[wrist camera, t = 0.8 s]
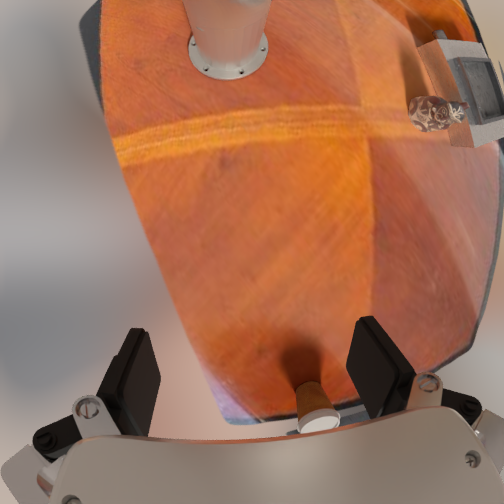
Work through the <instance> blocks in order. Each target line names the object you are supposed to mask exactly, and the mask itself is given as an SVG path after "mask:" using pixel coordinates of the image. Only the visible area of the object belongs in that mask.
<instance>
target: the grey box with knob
mask: <svg viewBox="0 0 504 504" xmlns="http://www.w3.org/2000/svg"><path fill="white" fill-rule="evenodd" d="M432 34H433V36H434V38H435V40H433V41H431V42H429V43H426V44H424V45H422V46H420V47H417V50H418V52H419V54H420V56H421V58H422V60H423V63H424V65H425V67H426V69H427V72H428V74H429V77H430V79H431V82H432V84H433V87H434V89H435V92H436V95H437V96H438V97H441V98H443V99H445V100H446V101H447V102H450V101H458V102H459V103H463V102H467V103H468V105H469V108H467V109H465V110H464V112H465V117H464V119H463V120H462V122H461V123H452V124H451V125H450V127H448V128H447V129H448V133H449V136H450V140H451V144H452V146H455V147H470V148H476V147H478V146H481V145H484V144H486V143H489V142H492V141H494V140H497V139H500V138H502V137H504V95H503V92H502V89H501V86H500V83H499V80H498V77H497V75H496V72H495V69H494V67H493V64H492V62H491V59H490V58H488V57H487V55H486V53H485V50H484V48H483V46H482V44H481V43H476V42H468V41H458V40H448V39H447V37H446V35H445V33H444V31H443V30H436V31H433V32H432Z"/></svg>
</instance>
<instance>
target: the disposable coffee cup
mask: <svg viewBox="0 0 504 504" xmlns="http://www.w3.org/2000/svg"><path fill="white" fill-rule="evenodd" d="M296 401H297V412H298V425H297V430H298V431H299V432H300V433H301V434H303V433H310V432H316V431H322V430H327V429H332V428H337V427H338V425H339V423H340V414H339V413H338V412H337V411H336V410H335V409H334V407H333V406H332V404H331V402H330V400H329V399H328V397H327V395H326V393H325V392H324V390H323V388H322V387H321V385H320V383H318V382H315V381H310V382H306V383H303V384H302V385H300V386H299V387H298V388H297V389H296Z"/></svg>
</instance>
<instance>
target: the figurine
mask: <svg viewBox="0 0 504 504" xmlns="http://www.w3.org/2000/svg"><path fill="white" fill-rule="evenodd" d="M467 108H469V105H468V103H467V102H463V103H459V102H458V101H450V102H447V101H446V100H445V99H443V98H441V97H438V96H418V97H415V98H413V99H412V100H411V101H410V104H409V111H408V116H409V118H410V120H411V123H412V124H413V125H414V126H415V127H416V128H417V129H419V130H420V131H421V132H432V131H437V130H444V129H447V128H448V127H450V125H451V124H452V123H461V122H462V120H463V119H464V117H465V112H464V110H465V109H467Z"/></svg>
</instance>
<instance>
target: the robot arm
mask: <svg viewBox="0 0 504 504" xmlns="http://www.w3.org/2000/svg"><path fill="white" fill-rule="evenodd" d="M182 1H183V4H184V7H185V10H186V13H187V16H188V19H189V23H190V26H191V29H192V32H193V35H192V37H191V39H190V42H189V47H188V50H189V56H190V59H191V61H192V63H193V65H194V66H195V67H196V69H197V70H198V71H200V72H201V73H202V74H204V75H206V76H208V77H210V78H213V79H218V80H236V79H240V78H243V77H246V76H248V75H250V74H252V73H253V72H255V71H256V70H258V68H259V67H260V66H261V65H262V64H263V62H264V61H265V59H266V56H267V53H268V41H267V37H266V35H265V34H264V32H263V30H264V27H265V23H266V20H267V16H268V13H269V9H270V5H271V2H272V0H182ZM193 45H195V46H193ZM261 50H264V51H261ZM206 69H207V70H208V71H205V70H206ZM241 72H242V73H243V74H240V73H241ZM346 368H347V371H348V373H349V375H350V377H351V379H352V381H353V383H354V385H355V387H356V389H357V392H358V394H359V396H360V398H361V400H362V402H363V404H364V406H365V408H366V410H367V412H368V414H369V416H370V419H371V420H367V421H363V422H359V423H355V424H351V425H346V426H342V427H337V428H332V429H327V430H322V431H316V432H310V433H303V434H296V435H289V436H280V437H271V438H259V439H242V440H186V439H168V438H155V437H148V433H149V428H150V424H151V420H152V415H153V411H154V406H155V402H156V398H157V394H158V390H159V386H160V381H161V376H160V372H159V368H158V366H157V362H156V358H155V355H154V351H153V348H152V344H151V340H150V337H149V333H148V332H145V330H144V329H143V328H131V329H130V331H129V333H128V335H127V337H126V339H125V341H124V343H123V345H122V347H121V349H120V351H119V353H118V355H116V356H114V358H113V360H112V362H111V364H110V366H109V368H108V370H107V372H106V374H105V376H104V379H103V381H102V383H101V385H100V387H99V390H98V392H97V394H96V396H94V395H87V396H82V397H81V398H79V399H77V401H75V403H74V404H73V407H72V413H73V414H72V415H70V416H68V417H65V418H63V419H61V420H59V421H57V422H54V423H52V424H50V425H47V426H45V427H42V428H40V429H39V430H37V431H36V433H35V434H34V436H33V444H32V445H31V446H29V445H28V444H27V445H26V446H25V447H24V448H23V449H21V450H20V451H19V452H18V453H16V454H15V455H14V456H13V457H12V458H10V459H9V460H8V461H7V462H5V463H4V464H3V466H2V468H1V476H2V478H3V480H4V482H5V483H6V485H7V487H8V488H9V490H10V491H11V493H12V494H13V496H14V497H15V498H16V500H17V501H18V502H19V504H504V484H503V481H502V479H501V477H500V475H499V474H500V472H501V470H502V468H503V466H504V419H503V418H501V417H500V416H498V415H496V414H494V413H492V412H491V411H489V410H487V409H485V410H484V411H483V410H482V406H481V404H480V402H479V401H478V400H477V399H476V398H475V397H472V396H469V395H465V394H461V393H458V392H454V391H451V390H447V389H443V383H442V381H441V379H440V378H439V377H438V376H437V375H435V374H433V373H431V372H421V373H419V374H416V373H415V371H414V369H413V367H412V366H411V365H410V363H409V362H408V361H407V359H406V358H405V357H404V355H403V354H402V353H401V351H400V350H399V349H398V347H397V346H396V345H395V343H394V342H393V341H392V340H391V338H390V337H389V336H388V334H387V333H386V332H385V331H384V329H383V328H382V327H381V326H380V324H379V323H378V322H377V321H376V319H375V318H374V317H373V316H365V317H360V319H359V320H358V321H356V324H355V329H354V333H353V338H352V342H351V346H350V350H349V354H348V358H347V362H346Z"/></svg>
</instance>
